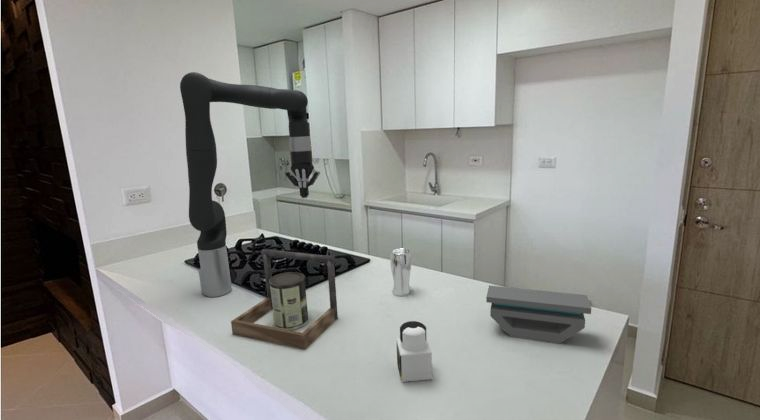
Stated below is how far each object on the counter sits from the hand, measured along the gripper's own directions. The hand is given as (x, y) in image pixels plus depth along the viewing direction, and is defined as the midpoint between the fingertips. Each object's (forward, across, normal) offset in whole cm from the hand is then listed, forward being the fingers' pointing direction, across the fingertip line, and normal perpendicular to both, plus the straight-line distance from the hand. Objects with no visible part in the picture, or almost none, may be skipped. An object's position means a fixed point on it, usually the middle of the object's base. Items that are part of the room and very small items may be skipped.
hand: (304, 197), depth 143 cm
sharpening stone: (+32, +76, -28) cm, 87 cm away
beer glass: (+32, +36, -7) cm, 49 cm away
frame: (+32, +6, -34) cm, 47 cm away
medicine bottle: (+32, +46, -50) cm, 75 cm away
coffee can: (+32, +6, -32) cm, 46 cm away
